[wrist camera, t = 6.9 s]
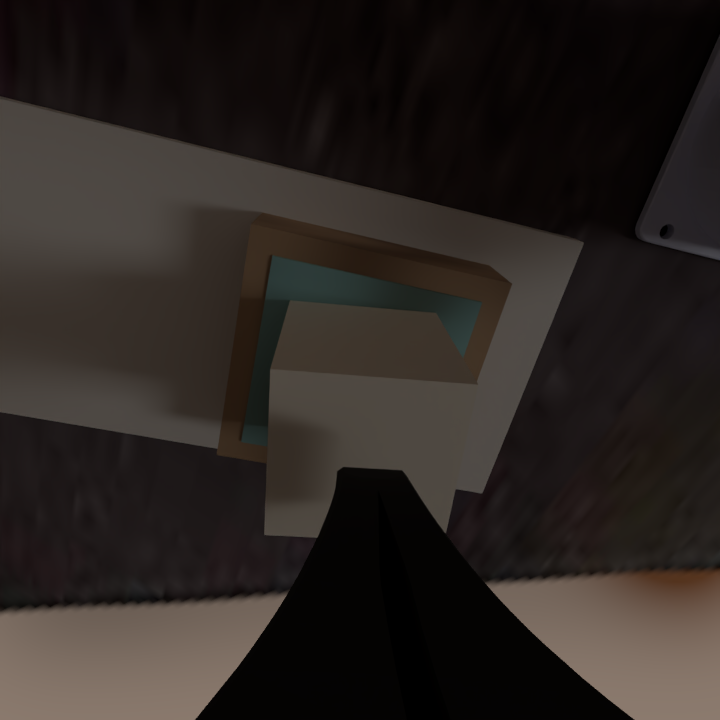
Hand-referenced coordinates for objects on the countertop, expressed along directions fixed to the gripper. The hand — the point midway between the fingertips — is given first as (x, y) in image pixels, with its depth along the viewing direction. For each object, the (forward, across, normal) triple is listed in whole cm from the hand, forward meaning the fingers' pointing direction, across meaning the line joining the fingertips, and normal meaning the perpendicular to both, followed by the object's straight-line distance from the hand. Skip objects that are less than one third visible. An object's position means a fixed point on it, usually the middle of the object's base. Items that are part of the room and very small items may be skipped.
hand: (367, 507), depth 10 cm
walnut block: (+9, 0, 0) cm, 9 cm away
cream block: (+6, 0, 0) cm, 6 cm away
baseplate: (+10, +3, 0) cm, 10 cm away
